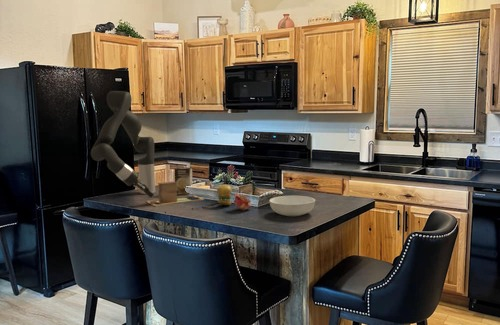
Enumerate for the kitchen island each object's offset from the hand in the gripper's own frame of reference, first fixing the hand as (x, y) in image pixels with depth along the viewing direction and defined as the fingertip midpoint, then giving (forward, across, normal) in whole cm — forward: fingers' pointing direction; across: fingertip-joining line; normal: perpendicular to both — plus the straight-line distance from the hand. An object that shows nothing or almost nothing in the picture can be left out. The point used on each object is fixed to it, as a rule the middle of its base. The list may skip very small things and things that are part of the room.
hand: (151, 196), depth 229 cm
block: (+9, 0, -3) cm, 9 cm away
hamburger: (+26, -20, -18) cm, 37 cm away
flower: (+28, -33, -20) cm, 48 cm away
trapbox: (+13, 0, -5) cm, 14 cm away
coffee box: (+22, +18, -14) cm, 31 cm away
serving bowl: (+38, -54, -30) cm, 73 cm away
